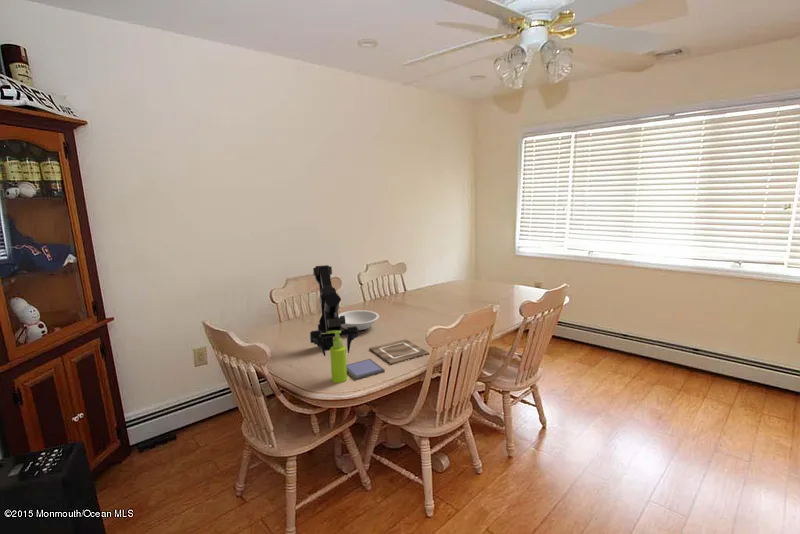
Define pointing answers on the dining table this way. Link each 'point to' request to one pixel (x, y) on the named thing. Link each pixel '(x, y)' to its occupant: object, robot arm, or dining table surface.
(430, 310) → the dining table surface
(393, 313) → the dining table surface
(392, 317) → the dining table surface
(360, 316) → the soup bowl
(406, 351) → the board
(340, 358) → the soap dispenser
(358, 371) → the ink pad
